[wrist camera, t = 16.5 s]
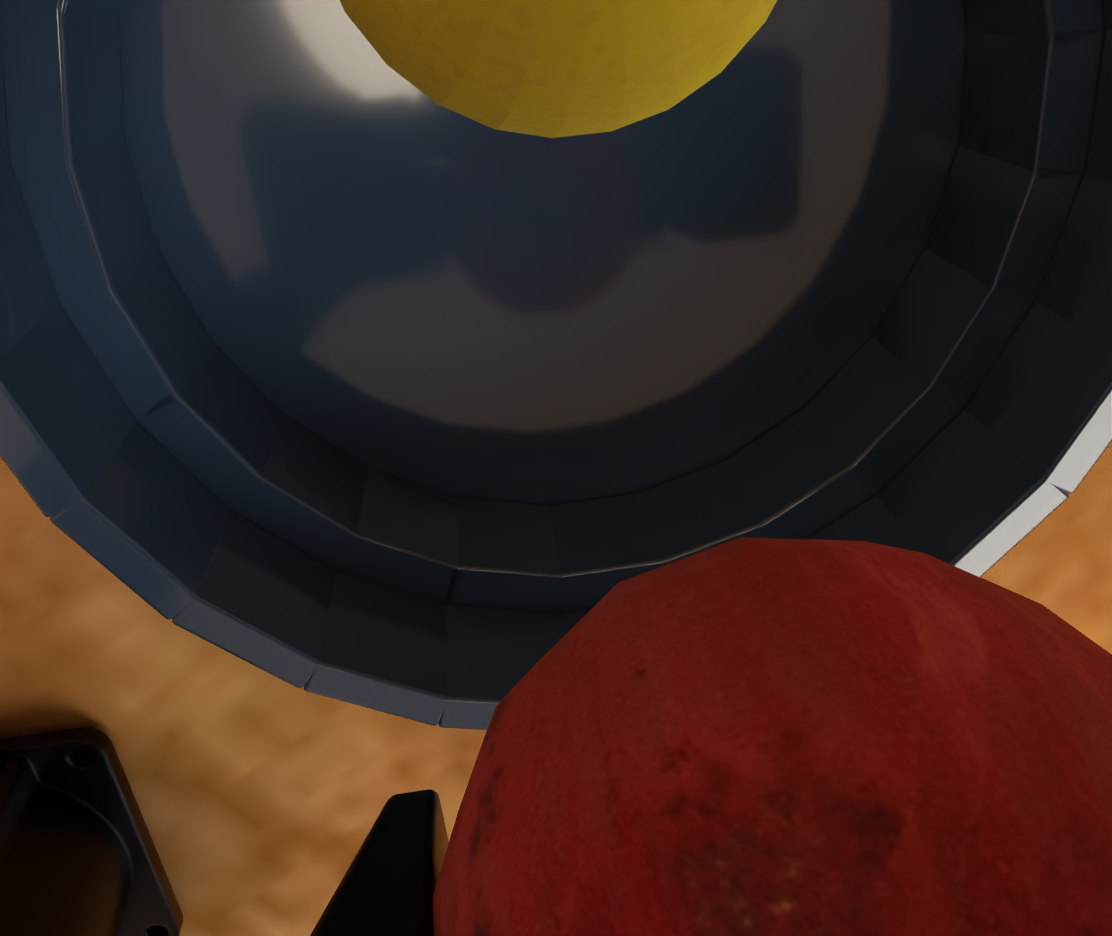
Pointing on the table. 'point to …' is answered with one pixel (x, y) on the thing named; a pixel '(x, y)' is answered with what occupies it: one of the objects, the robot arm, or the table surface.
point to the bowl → (537, 320)
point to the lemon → (558, 55)
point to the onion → (795, 760)
